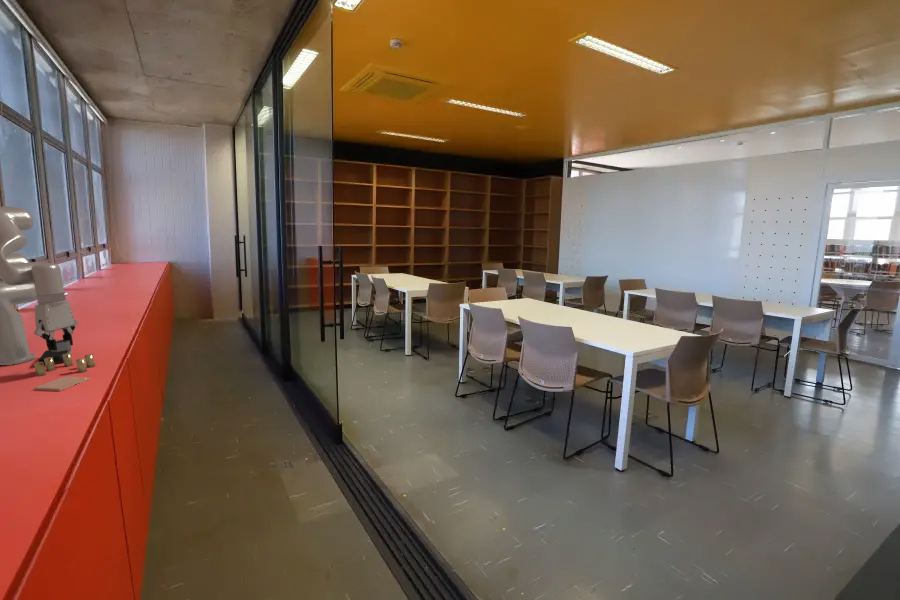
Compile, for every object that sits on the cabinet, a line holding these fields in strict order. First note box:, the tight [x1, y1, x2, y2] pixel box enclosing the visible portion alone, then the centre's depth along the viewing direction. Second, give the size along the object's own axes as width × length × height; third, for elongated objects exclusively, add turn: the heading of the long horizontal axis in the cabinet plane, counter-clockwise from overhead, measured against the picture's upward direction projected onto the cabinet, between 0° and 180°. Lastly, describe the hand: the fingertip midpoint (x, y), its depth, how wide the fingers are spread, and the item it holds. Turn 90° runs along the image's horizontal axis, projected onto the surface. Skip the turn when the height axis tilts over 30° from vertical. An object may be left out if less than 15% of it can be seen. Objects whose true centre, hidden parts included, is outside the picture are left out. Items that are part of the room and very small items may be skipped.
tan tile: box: [34, 375, 91, 392], centre depth 148 cm, size 10×10×1 cm
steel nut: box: [51, 338, 72, 352], centre depth 161 cm, size 6×5×3 cm
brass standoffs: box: [33, 352, 96, 377], centre depth 162 cm, size 16×12×4 cm
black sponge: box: [38, 347, 72, 367], centre depth 175 cm, size 16×8×4 cm, turn 35°
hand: (60, 346), depth 161 cm, fingers closed on steel nut, 5 cm apart
